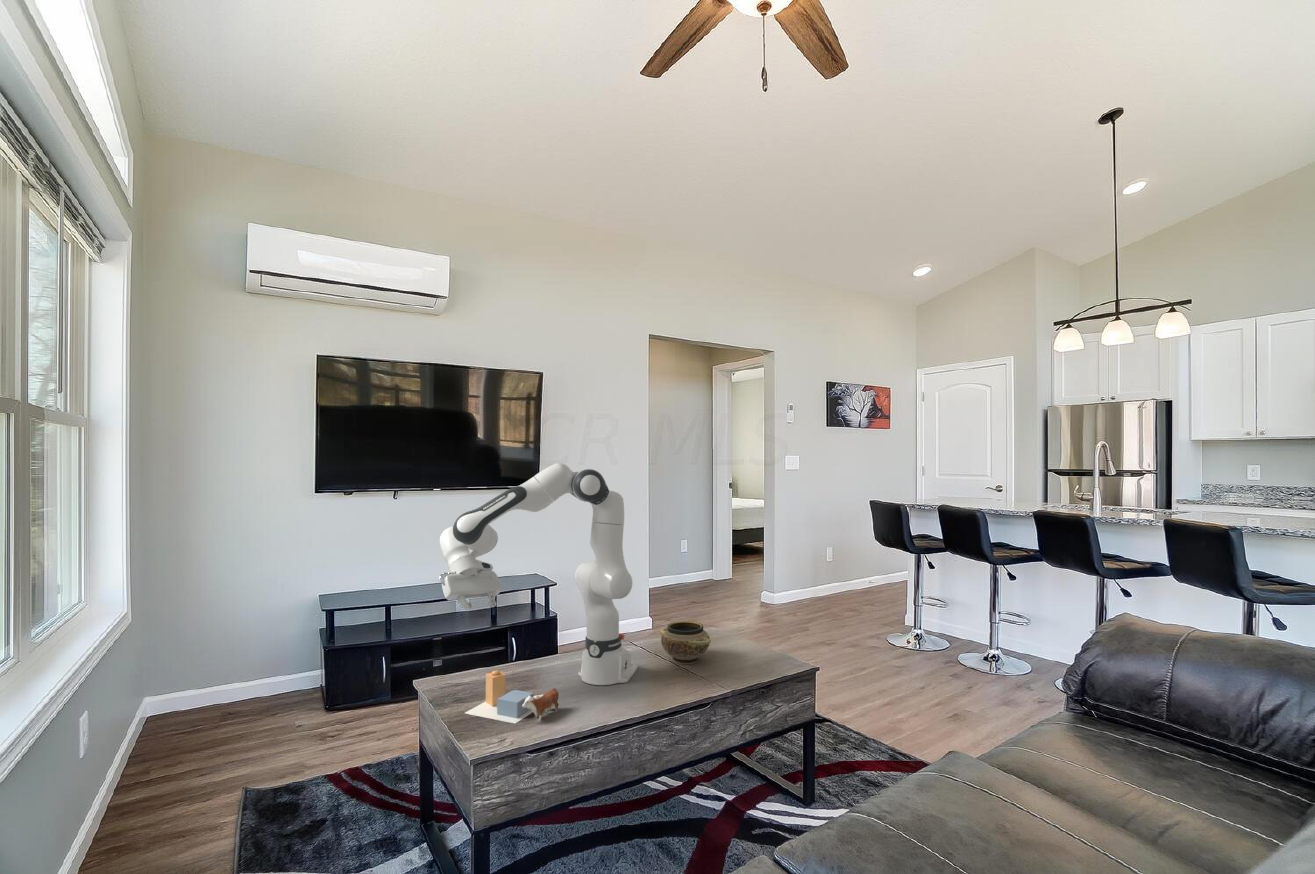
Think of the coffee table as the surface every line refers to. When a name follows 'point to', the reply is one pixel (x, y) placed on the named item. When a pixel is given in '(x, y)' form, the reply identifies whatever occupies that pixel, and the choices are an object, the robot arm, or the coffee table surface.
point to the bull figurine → (542, 702)
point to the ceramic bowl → (685, 641)
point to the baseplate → (493, 713)
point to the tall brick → (495, 687)
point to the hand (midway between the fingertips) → (481, 607)
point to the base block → (513, 704)
